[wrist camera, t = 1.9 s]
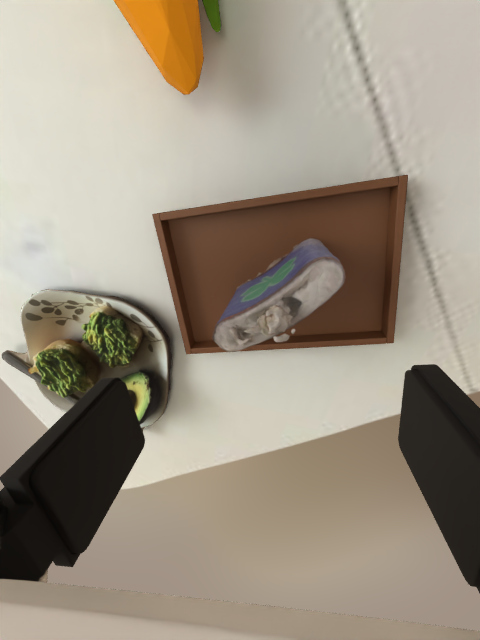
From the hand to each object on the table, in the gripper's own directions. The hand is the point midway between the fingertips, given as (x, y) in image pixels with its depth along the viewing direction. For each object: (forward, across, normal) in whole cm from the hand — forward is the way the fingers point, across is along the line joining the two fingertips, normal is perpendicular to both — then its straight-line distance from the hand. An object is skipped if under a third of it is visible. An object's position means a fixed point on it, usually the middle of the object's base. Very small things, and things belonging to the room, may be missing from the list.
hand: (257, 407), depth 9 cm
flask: (+17, -1, 0) cm, 17 cm away
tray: (+17, -1, 0) cm, 17 cm away
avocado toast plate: (+18, +19, +8) cm, 27 cm away
